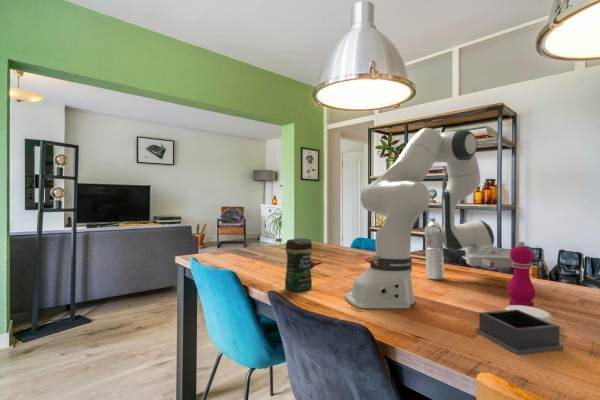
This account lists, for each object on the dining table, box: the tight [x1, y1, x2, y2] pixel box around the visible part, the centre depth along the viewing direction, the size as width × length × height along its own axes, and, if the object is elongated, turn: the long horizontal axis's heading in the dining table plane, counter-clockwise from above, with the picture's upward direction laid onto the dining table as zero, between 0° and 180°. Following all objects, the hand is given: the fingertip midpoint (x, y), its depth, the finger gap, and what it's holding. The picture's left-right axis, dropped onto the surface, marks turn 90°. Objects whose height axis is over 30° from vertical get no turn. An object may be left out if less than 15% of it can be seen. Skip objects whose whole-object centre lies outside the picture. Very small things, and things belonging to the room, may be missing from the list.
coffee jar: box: [284, 238, 313, 292], centre depth 118 cm, size 10×8×19 cm
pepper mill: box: [506, 241, 537, 308], centre depth 99 cm, size 7×7×20 cm
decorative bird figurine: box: [310, 259, 323, 270], centre depth 141 cm, size 3×18×10 cm, turn 49°
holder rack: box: [475, 310, 565, 356], centre depth 75 cm, size 12×12×5 cm
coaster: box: [505, 305, 552, 323], centre depth 86 cm, size 10×10×4 cm
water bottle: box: [424, 217, 445, 281], centre depth 133 cm, size 7×7×25 cm
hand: (506, 264), depth 109 cm, fingers open, 8 cm apart
